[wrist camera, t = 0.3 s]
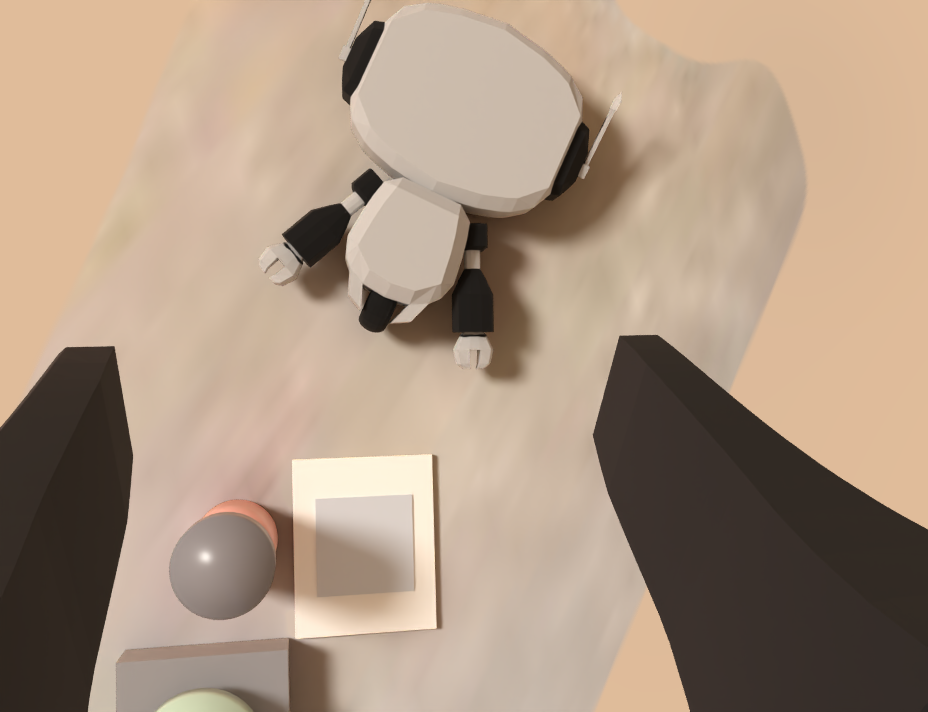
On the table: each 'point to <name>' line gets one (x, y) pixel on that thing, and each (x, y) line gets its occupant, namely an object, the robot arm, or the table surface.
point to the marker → (225, 561)
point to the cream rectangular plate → (363, 545)
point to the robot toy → (442, 162)
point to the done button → (204, 702)
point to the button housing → (206, 674)
